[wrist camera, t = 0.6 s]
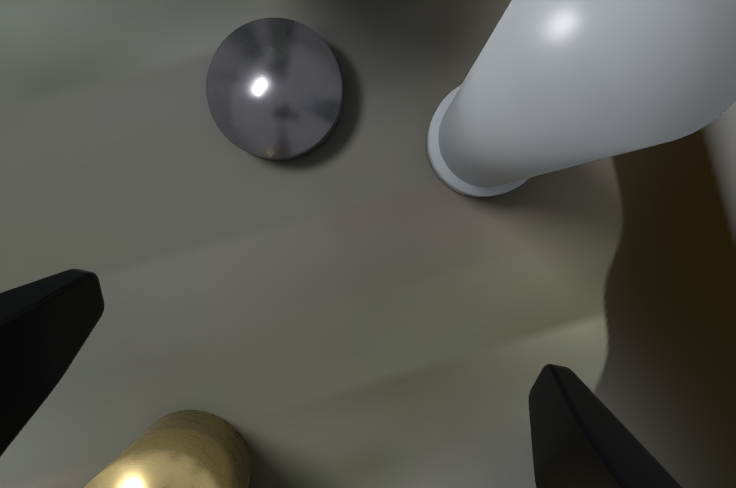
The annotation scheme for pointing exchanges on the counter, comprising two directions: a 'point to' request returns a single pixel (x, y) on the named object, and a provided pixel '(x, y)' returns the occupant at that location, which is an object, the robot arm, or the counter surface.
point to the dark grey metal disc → (275, 89)
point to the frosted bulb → (582, 88)
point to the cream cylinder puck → (181, 456)
